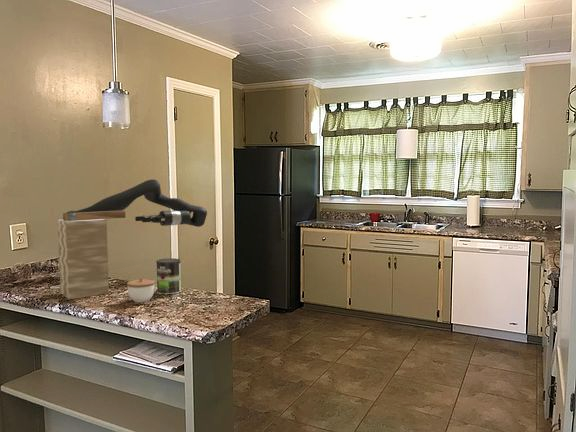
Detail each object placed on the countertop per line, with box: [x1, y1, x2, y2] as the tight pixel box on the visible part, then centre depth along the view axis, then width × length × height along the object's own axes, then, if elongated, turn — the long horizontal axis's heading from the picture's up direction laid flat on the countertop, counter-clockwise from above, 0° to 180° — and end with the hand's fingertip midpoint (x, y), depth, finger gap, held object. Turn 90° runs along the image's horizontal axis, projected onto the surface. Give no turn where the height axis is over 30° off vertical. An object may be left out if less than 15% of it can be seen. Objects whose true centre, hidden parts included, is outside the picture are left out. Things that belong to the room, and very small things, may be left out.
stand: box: [57, 218, 110, 300], centre depth 202 cm, size 14×16×32 cm
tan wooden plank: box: [62, 210, 127, 221], centre depth 204 cm, size 5×25×3 cm, turn 130°
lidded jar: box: [126, 277, 156, 304], centre depth 190 cm, size 11×11×9 cm
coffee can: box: [155, 257, 182, 296], centre depth 204 cm, size 10×10×14 cm
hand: (138, 219), depth 226 cm, fingers open, 8 cm apart
